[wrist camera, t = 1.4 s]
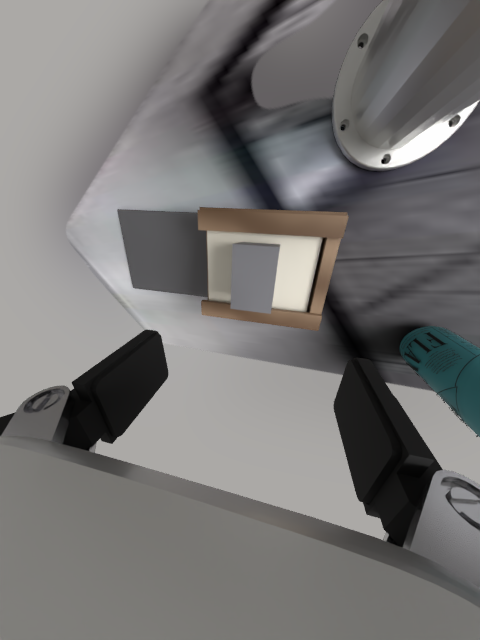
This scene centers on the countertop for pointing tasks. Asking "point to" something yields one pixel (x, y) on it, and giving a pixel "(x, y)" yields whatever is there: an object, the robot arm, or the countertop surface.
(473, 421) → the beverage bottle
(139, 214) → the charcoal mat
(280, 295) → the cover plate
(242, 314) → the walnut box
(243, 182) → the countertop surface
